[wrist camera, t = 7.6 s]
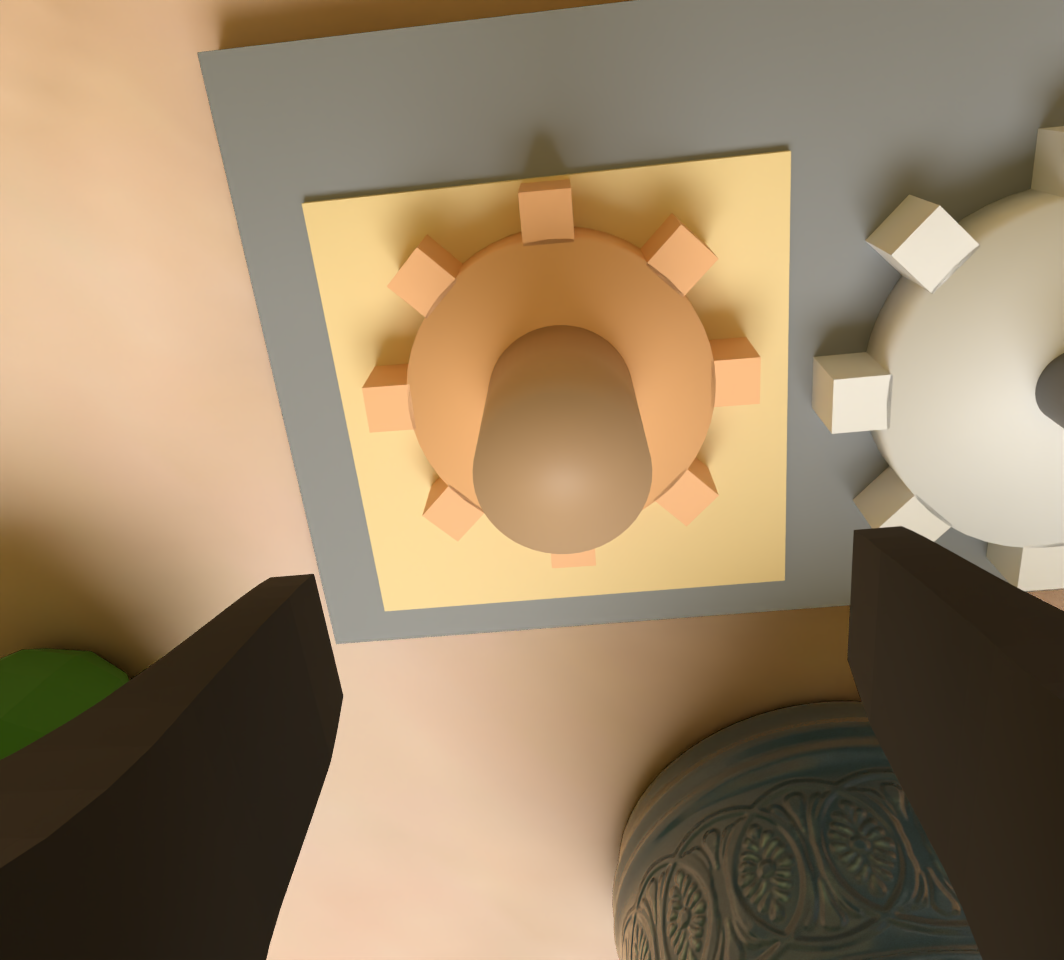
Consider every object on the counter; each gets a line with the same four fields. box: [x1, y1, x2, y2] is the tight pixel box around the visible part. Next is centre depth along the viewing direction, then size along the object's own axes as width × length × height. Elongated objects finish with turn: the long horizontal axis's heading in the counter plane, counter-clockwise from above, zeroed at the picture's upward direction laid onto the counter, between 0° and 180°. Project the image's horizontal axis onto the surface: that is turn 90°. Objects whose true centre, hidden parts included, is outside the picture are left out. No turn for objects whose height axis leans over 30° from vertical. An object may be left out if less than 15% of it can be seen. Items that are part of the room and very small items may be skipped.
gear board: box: [197, 0, 1064, 644], centre depth 18 cm, size 22×14×6 cm, turn 96°
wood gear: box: [362, 179, 761, 568], centre depth 17 cm, size 8×8×6 cm
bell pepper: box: [0, 648, 130, 760], centre depth 22 cm, size 8×8×10 cm
